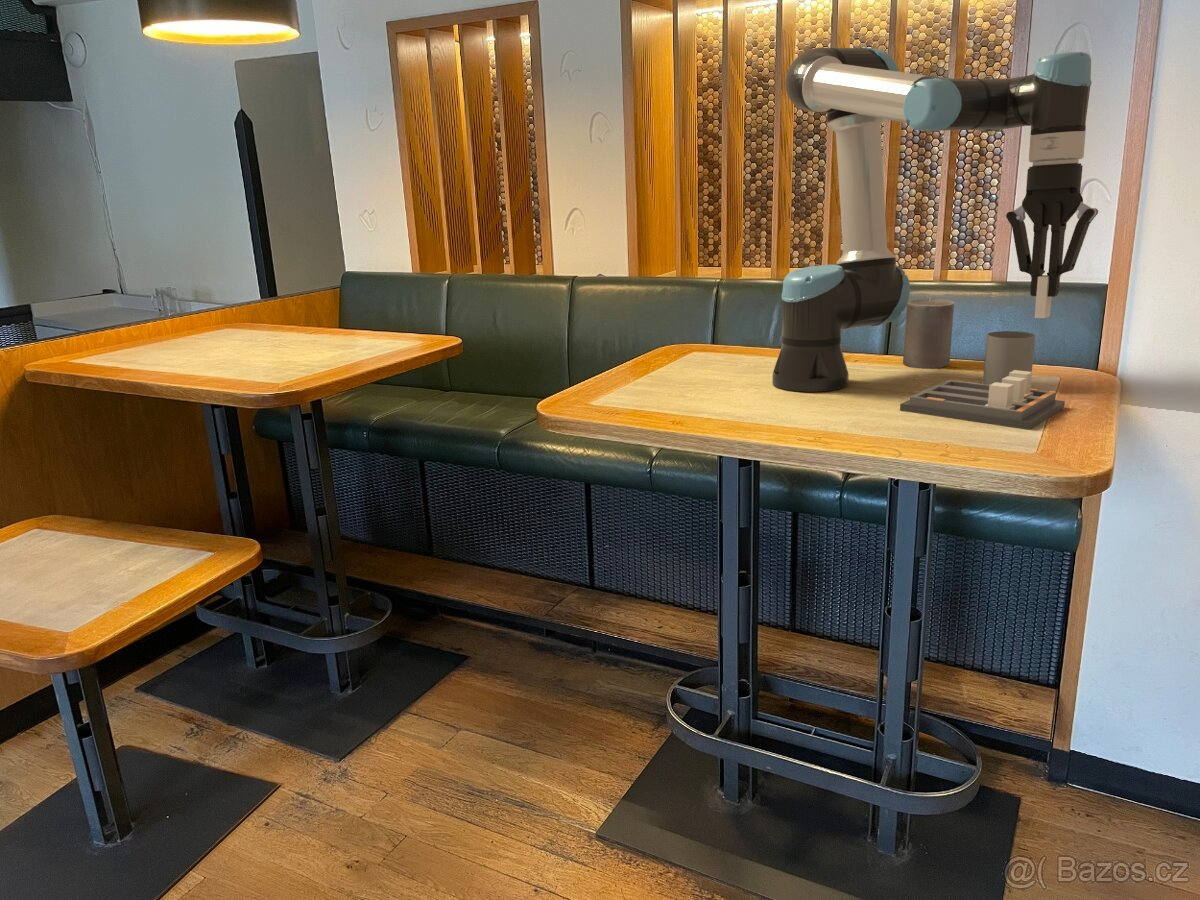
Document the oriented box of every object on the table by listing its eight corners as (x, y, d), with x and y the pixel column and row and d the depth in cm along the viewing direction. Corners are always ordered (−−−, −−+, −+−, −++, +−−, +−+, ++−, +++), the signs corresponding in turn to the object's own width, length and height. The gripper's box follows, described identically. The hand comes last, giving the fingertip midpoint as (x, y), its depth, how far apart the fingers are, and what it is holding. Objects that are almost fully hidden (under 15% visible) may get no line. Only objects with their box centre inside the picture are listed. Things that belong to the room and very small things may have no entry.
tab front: (983, 412, 146) (986, 384, 144) (990, 409, 147) (992, 381, 146) (1008, 416, 143) (1010, 387, 141) (1014, 412, 145) (1017, 384, 143)
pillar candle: (899, 360, 195) (902, 293, 191) (944, 359, 194) (949, 292, 189) (907, 369, 186) (911, 300, 182) (955, 368, 185) (960, 298, 180)
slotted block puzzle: (899, 410, 154) (900, 395, 154) (940, 391, 166) (941, 377, 165) (1029, 429, 140) (1031, 412, 139) (1064, 407, 151) (1066, 392, 150)
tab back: (1003, 398, 154) (1005, 372, 152) (1009, 395, 155) (1011, 369, 154) (1027, 401, 151) (1029, 375, 149) (1032, 398, 153) (1035, 372, 151)
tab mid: (996, 405, 149) (998, 378, 148) (1002, 402, 151) (1004, 375, 150) (1020, 409, 147) (1023, 381, 145) (1026, 405, 149) (1029, 378, 147)
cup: (1034, 390, 163) (1040, 338, 161) (988, 390, 165) (993, 338, 162) (1023, 380, 171) (1028, 330, 168) (979, 380, 173) (983, 331, 170)
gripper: (1002, 166, 134) (991, 318, 141) (1095, 160, 126) (1079, 322, 132) (1019, 166, 140) (1008, 312, 146) (1109, 159, 131) (1094, 315, 137)
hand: (1042, 316), depth 139 cm, fingers closed
